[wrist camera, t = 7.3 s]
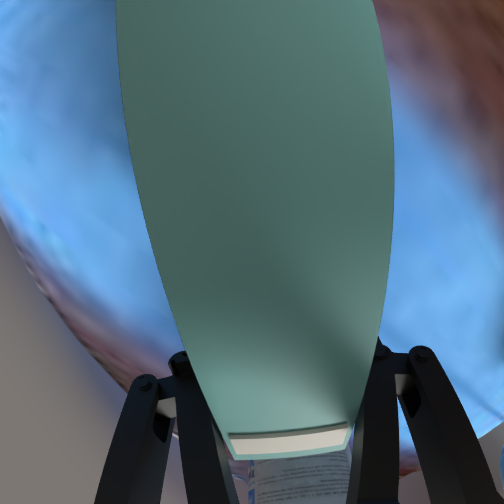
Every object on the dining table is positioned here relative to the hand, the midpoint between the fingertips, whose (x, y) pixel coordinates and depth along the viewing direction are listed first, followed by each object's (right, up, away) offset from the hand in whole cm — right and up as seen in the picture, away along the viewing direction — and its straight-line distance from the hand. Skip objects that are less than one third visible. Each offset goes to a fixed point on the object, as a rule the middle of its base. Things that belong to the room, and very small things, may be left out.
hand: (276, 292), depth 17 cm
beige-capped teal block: (-1, +7, -1) cm, 7 cm away
